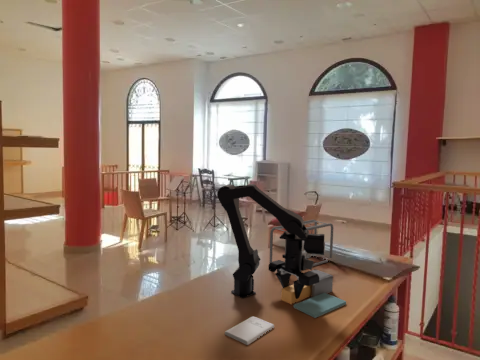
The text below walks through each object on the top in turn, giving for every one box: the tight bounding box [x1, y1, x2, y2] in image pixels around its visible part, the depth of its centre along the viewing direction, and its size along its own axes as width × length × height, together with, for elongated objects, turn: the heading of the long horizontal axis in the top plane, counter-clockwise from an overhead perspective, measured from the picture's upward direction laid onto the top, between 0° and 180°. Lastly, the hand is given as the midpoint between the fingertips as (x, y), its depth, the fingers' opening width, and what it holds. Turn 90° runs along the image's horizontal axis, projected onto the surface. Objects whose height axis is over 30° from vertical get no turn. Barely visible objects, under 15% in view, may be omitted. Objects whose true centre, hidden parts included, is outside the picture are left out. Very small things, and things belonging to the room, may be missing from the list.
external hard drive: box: [224, 315, 275, 346], centre depth 107 cm, size 2×8×12 cm
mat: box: [293, 293, 347, 319], centre depth 124 cm, size 16×9×1 cm, turn 129°
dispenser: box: [295, 269, 334, 298], centre depth 135 cm, size 11×8×6 cm
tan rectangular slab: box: [280, 284, 312, 305], centre depth 130 cm, size 13×4×4 cm, turn 132°
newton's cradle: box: [268, 219, 334, 270], centre depth 164 cm, size 30×10×18 cm, turn 129°
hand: (292, 296), depth 128 cm, fingers closed on tan rectangular slab, 4 cm apart
